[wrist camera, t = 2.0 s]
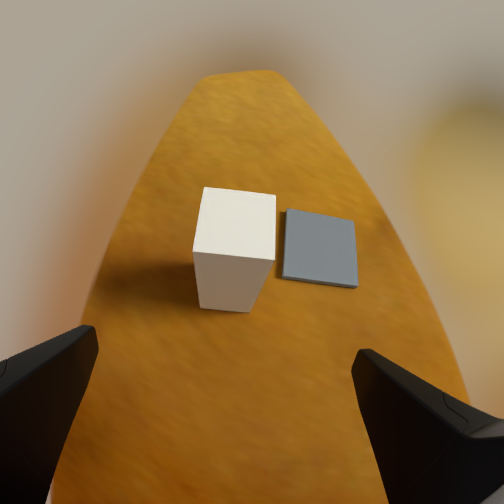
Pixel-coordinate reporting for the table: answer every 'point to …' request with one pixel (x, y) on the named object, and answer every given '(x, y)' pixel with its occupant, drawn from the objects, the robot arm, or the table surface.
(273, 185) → the table surface
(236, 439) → the table surface
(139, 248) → the table surface
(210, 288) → the tall block
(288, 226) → the slate mat
